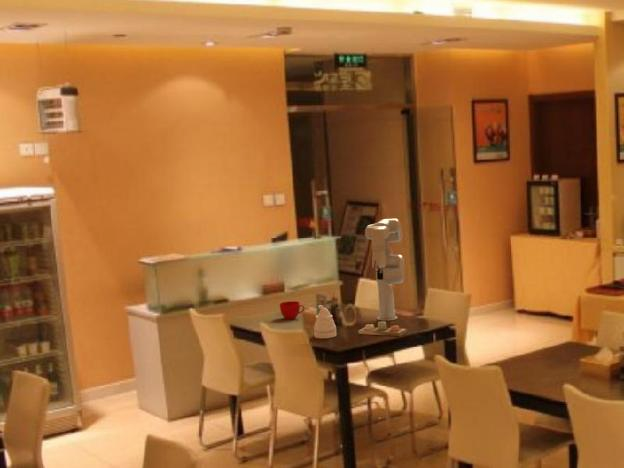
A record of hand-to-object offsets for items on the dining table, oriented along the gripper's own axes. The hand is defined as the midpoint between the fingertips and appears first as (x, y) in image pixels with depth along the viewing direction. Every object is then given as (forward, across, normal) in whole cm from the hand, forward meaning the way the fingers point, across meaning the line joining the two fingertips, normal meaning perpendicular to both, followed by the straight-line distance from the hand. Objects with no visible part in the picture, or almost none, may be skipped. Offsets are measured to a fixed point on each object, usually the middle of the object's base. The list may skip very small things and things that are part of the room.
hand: (380, 279), depth 514 cm
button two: (+27, +14, +6) cm, 31 cm away
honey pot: (+29, +28, -24) cm, 47 cm away
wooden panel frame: (+29, +14, +6) cm, 33 cm away
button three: (+29, +14, +14) cm, 35 cm away
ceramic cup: (+29, -13, -70) cm, 77 cm away
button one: (+29, +14, -2) cm, 32 cm away
